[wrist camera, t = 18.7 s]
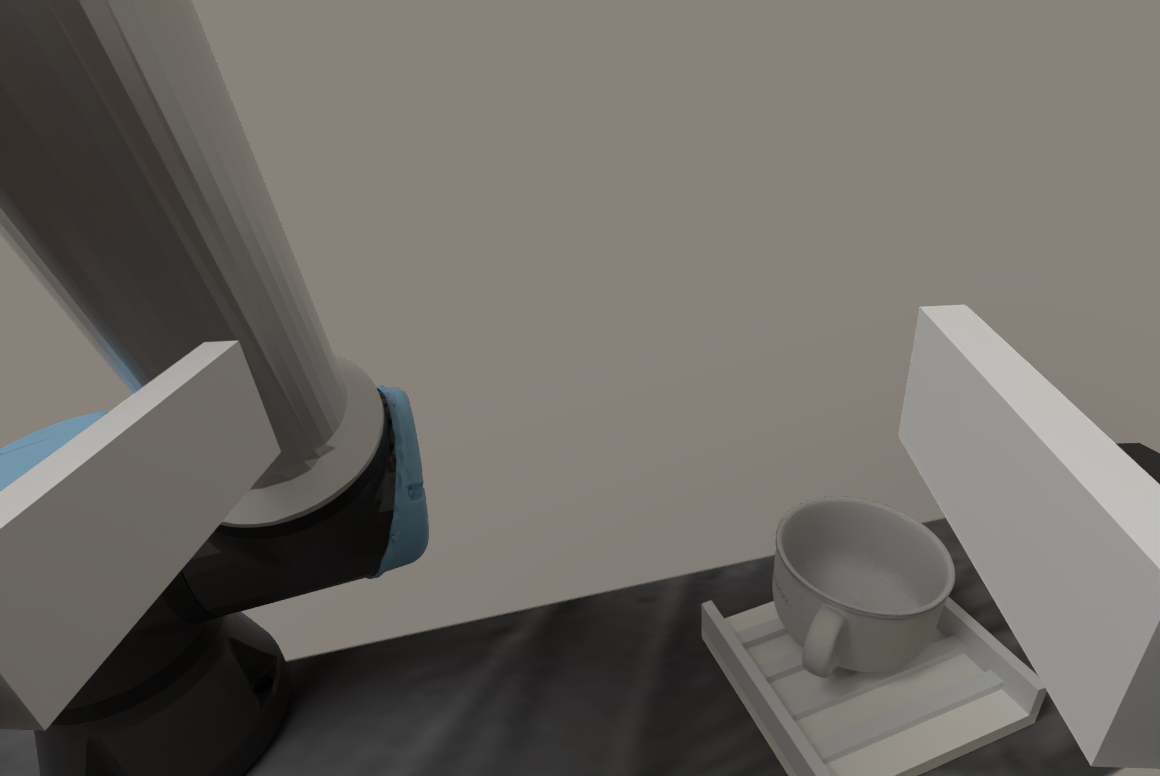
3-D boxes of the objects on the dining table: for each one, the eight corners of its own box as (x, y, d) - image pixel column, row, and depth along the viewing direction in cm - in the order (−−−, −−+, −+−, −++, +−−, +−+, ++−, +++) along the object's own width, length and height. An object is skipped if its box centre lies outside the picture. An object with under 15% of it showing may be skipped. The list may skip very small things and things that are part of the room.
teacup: (818, 554, 53) (827, 474, 50) (961, 626, 46) (984, 539, 42) (713, 662, 46) (713, 577, 42) (866, 769, 38) (883, 678, 34)
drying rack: (816, 821, 38) (822, 784, 36) (701, 637, 50) (701, 603, 48) (1034, 722, 42) (1049, 685, 40) (879, 574, 53) (885, 540, 52)
